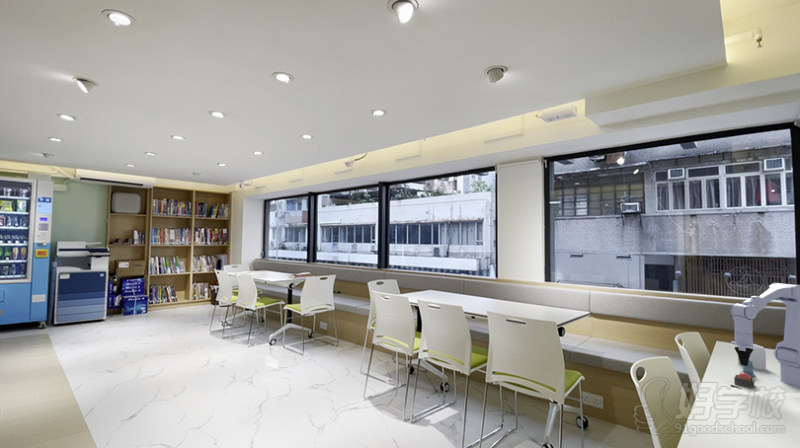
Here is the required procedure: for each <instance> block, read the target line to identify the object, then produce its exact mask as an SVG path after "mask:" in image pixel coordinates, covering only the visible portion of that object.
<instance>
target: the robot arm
mask: <svg viewBox="0 0 800 448" xmlns="http://www.w3.org/2000/svg"><path fill="white" fill-rule="evenodd" d="M775 299H777V300H779V301H780V302H782V303H783V304H785V321H784V330H783V340H782V341H780V342H777V343H776V347H775V349H774V351H773V355H774V358H775V359H776V360H777V362H778V363H779V366H780V367H779V368H780V369H779V370H780V371H779V372H780V382H782V383H784V384H787V385H790V386H794V387H797V388H800V284H791V283H780V282H779V283H778V282H772V284H770V285H768V289H767V290H765V291H764V292H763V293H761V294H760V295H759V296H758V295H751V296H750V298H748V299H745V301H742V303H735V304H734V305H732V306H731V308H730V311H729V312H730V314H731V316H732V320H733V322H734V324H733V325H734V340H733V341H731V340H730V344H734V345H736V346H734V350H735V352H736V354H737V358H738V357H739V361H740V364H741V365H740V366H742V365H743V366H747V365H748V362H749V358H750V354H751V353H752V352H753V349H751V348H750V347H754V345H753V344H754V333H753V332H754V331H753V328H754V327H753V326H754V325H753V319H754V320H755V318H757V315H758V313H759V312H760V311H762V310H764V309H766V308H767V306H768V303H770V302H772V301H774V300H775ZM743 366H742V367H743Z"/></svg>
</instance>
